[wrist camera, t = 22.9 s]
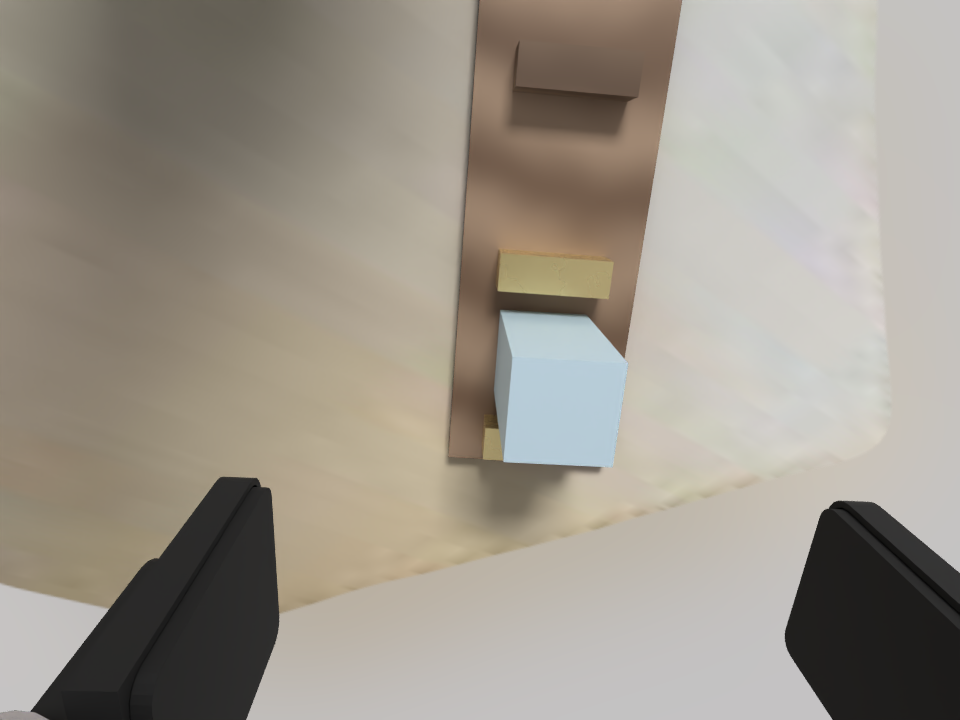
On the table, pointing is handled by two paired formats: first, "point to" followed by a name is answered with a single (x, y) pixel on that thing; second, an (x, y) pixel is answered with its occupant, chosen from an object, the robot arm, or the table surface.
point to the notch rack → (555, 178)
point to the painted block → (557, 389)
